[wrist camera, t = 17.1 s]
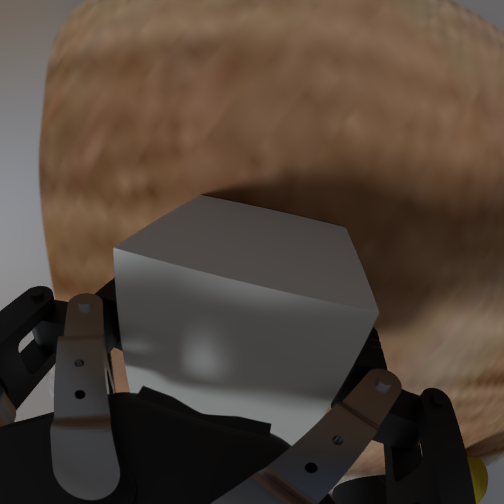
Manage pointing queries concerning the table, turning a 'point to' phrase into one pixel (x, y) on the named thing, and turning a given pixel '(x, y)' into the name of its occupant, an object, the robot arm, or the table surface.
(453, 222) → the table surface
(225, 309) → the matte gray cube
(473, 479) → the lemon
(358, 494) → the travel mug
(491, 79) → the table surface
